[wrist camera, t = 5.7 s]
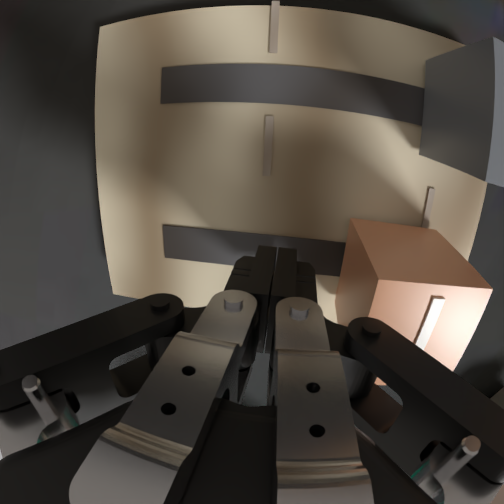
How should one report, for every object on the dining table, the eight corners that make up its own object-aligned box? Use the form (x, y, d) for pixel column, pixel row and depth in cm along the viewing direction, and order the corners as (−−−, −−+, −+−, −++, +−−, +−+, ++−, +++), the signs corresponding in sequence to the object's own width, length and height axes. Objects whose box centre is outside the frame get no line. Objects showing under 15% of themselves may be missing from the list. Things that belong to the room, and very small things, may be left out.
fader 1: (334, 301, 14) (345, 386, 9) (350, 217, 12) (379, 281, 7) (412, 307, 13) (446, 384, 9) (435, 229, 11) (494, 290, 7)
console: (129, 279, 18) (113, 297, 16) (121, 30, 12) (99, 22, 10) (429, 311, 16) (440, 333, 14) (475, 59, 10) (497, 55, 8)
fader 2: (418, 154, 10) (487, 182, 6) (425, 60, 9) (495, 36, 4) (492, 173, 10) (566, 209, 5) (500, 88, 8) (578, 90, 4)
